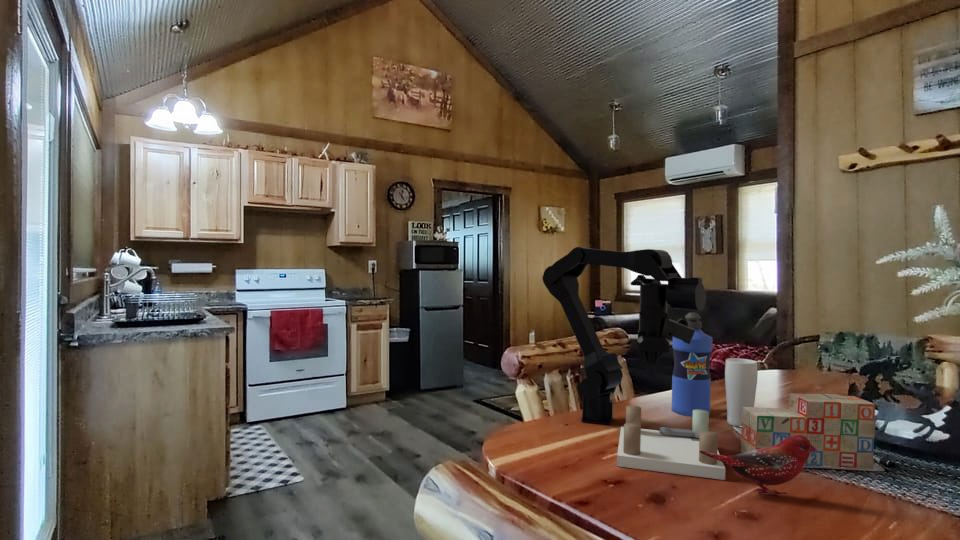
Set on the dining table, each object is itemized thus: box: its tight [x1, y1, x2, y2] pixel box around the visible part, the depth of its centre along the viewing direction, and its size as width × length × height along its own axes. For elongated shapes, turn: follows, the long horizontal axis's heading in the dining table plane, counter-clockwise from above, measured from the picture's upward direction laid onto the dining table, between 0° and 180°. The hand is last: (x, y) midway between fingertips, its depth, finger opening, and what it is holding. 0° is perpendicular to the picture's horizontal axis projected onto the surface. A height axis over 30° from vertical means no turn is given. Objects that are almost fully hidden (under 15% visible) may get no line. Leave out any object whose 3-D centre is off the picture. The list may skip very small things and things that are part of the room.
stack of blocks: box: [740, 392, 876, 470], centre depth 101 cm, size 21×6×12 cm, turn 87°
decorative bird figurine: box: [699, 435, 817, 496], centre depth 86 cm, size 3×18×10 cm, turn 80°
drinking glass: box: [724, 357, 759, 427], centre depth 123 cm, size 7×7×15 cm
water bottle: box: [671, 311, 713, 418], centre depth 133 cm, size 9×9×25 cm
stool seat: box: [616, 405, 726, 481], centre depth 102 cm, size 18×18×7 cm
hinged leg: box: [658, 409, 710, 438], centre depth 107 cm, size 9×3×5 cm, turn 76°
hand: (651, 378), depth 115 cm, fingers closed
